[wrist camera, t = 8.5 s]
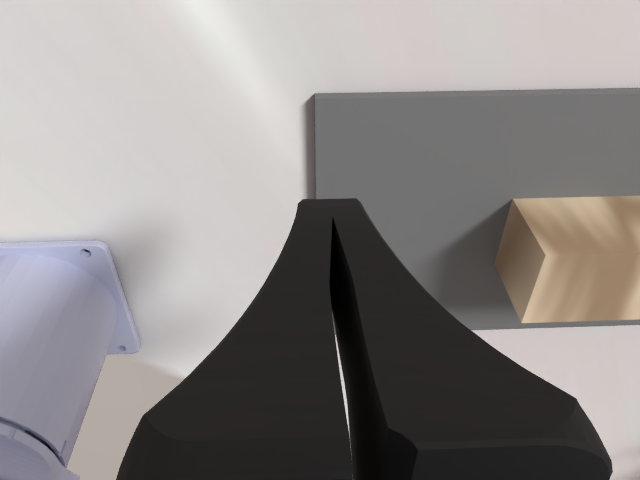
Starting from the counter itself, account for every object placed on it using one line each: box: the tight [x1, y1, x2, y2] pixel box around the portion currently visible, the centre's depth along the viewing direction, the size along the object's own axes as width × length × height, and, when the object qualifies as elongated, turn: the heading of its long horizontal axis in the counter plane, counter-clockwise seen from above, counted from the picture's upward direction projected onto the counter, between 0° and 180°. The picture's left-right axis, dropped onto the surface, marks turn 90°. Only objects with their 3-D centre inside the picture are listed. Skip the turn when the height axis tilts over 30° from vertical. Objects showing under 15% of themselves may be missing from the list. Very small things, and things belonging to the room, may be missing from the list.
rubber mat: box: [315, 88, 640, 334], centre depth 25 cm, size 22×14×1 cm, turn 90°
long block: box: [494, 196, 640, 323], centre depth 24 cm, size 4×4×10 cm
